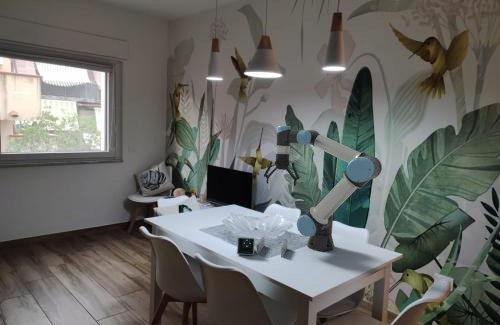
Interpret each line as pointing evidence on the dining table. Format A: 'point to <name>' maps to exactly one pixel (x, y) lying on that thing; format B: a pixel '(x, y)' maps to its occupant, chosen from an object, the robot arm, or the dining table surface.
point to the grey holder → (261, 245)
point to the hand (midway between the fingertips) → (280, 190)
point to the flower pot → (245, 246)
